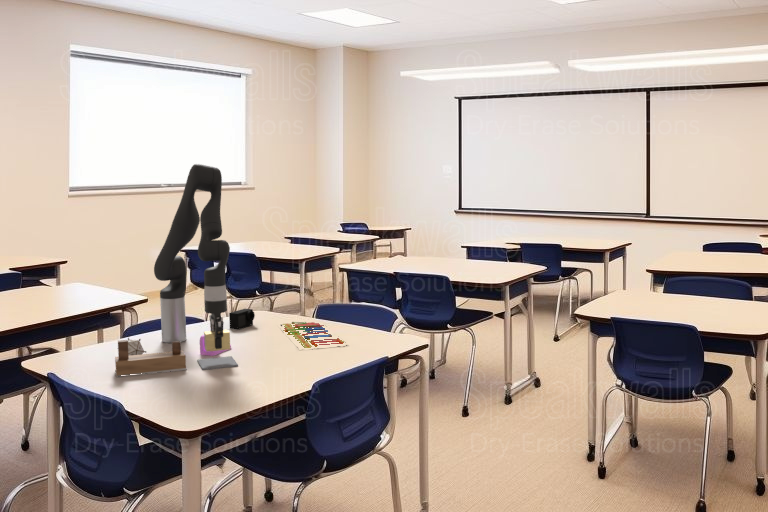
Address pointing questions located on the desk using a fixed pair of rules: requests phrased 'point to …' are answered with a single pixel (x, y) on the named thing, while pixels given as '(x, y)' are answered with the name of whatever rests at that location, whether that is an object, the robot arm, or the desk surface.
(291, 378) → the desk surface
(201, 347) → the bracket
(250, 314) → the digital camera
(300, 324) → the gear board
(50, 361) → the desk surface
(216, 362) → the mat
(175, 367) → the plane body
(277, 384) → the desk surface
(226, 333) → the lever cap
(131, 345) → the game die
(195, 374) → the desk surface
